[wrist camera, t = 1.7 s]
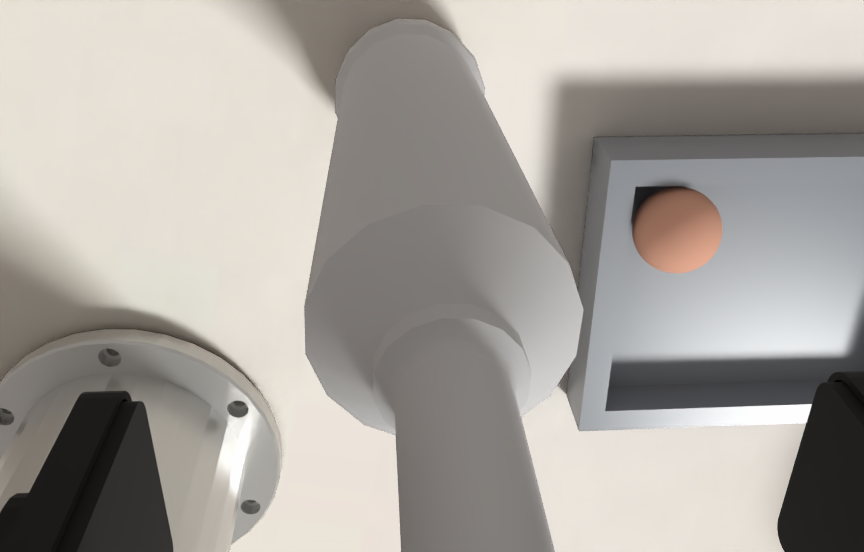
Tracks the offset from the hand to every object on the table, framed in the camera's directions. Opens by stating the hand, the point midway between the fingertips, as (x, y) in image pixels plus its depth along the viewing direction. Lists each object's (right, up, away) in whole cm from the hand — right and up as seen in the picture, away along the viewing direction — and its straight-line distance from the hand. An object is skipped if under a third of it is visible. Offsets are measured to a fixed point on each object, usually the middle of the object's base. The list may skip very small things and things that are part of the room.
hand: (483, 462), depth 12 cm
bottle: (-2, +10, +18) cm, 21 cm away
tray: (+12, +3, +23) cm, 26 cm away
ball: (+8, +5, +20) cm, 22 cm away
